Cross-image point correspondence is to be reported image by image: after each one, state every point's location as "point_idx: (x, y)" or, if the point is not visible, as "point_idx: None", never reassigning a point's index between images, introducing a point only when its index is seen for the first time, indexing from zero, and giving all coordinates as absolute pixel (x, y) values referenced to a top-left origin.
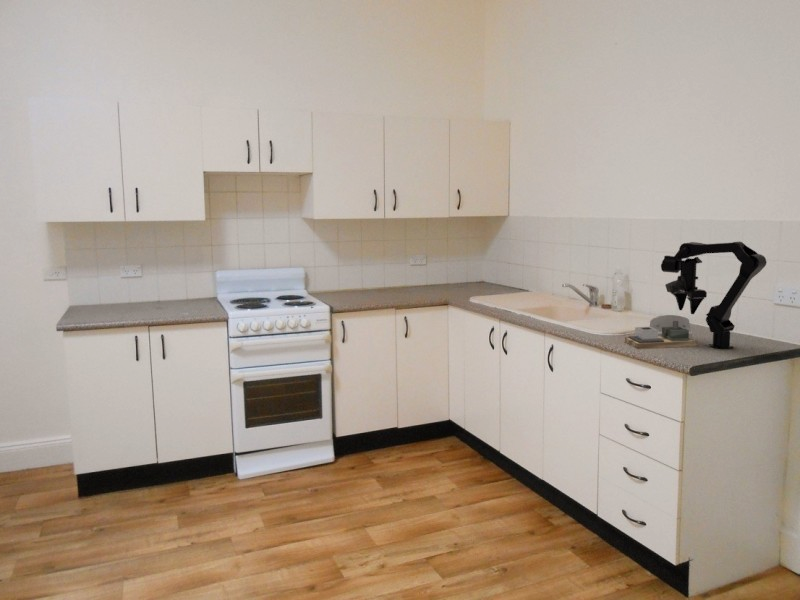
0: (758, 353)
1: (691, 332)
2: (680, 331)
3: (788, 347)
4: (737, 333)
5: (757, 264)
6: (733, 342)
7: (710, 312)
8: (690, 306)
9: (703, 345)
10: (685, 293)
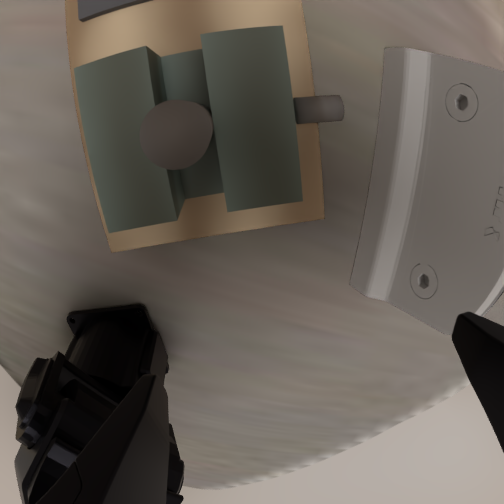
0: None
1: (376, 298)
2: (90, 151)
3: None
4: (369, 433)
5: None
6: (222, 406)
7: (34, 470)
8: (106, 461)
9: (144, 279)
10: None
